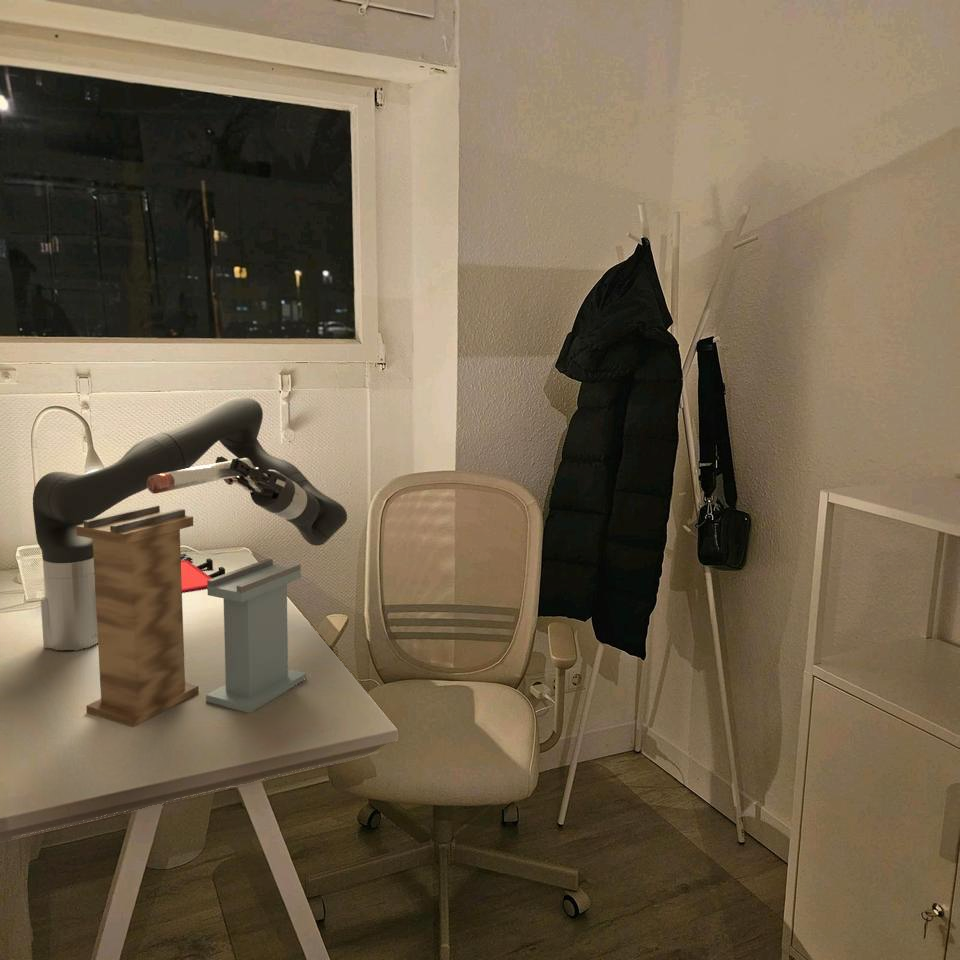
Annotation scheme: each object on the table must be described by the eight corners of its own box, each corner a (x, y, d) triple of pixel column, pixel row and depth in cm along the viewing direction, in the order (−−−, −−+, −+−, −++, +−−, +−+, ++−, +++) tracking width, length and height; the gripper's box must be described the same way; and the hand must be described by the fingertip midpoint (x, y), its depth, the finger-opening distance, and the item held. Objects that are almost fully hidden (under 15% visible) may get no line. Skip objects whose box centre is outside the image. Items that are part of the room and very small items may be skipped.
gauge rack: (249, 713, 133) (246, 587, 129) (206, 701, 137) (202, 579, 133) (306, 679, 146) (305, 565, 143) (265, 669, 150) (263, 557, 146)
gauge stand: (132, 726, 127) (123, 527, 122) (86, 712, 132) (75, 519, 126) (198, 692, 140) (192, 510, 134) (154, 680, 144) (147, 503, 139)
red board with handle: (192, 556, 223) (134, 565, 214) (191, 546, 222) (133, 554, 213) (234, 586, 200) (172, 598, 191) (234, 575, 199) (171, 586, 190)
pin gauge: (160, 494, 132) (160, 476, 132) (146, 492, 134) (146, 474, 133) (252, 475, 152) (252, 458, 152) (239, 473, 153) (239, 457, 153)
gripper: (257, 474, 166) (202, 439, 151) (314, 481, 160) (263, 446, 145) (245, 509, 164) (188, 477, 149) (303, 517, 158) (249, 485, 143)
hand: (225, 462), depth 147 cm, fingers closed on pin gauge, 3 cm apart
